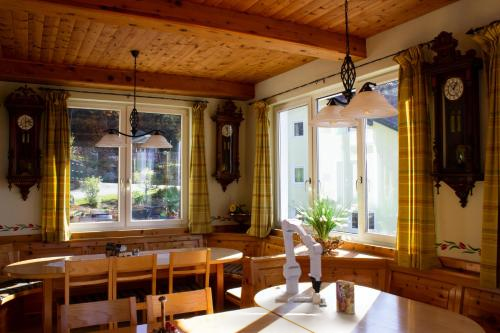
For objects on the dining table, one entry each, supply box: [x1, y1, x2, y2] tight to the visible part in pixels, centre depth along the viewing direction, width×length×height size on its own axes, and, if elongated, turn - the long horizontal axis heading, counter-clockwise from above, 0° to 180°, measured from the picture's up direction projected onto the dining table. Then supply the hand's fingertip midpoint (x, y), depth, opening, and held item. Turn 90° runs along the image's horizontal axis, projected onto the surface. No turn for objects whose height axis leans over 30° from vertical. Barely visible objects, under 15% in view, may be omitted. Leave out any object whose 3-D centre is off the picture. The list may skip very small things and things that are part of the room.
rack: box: [294, 296, 327, 308], centre depth 233 cm, size 12×18×3 cm, turn 84°
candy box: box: [335, 279, 356, 315], centre depth 218 cm, size 9×4×15 cm, turn 39°
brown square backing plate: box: [274, 298, 289, 304], centre depth 235 cm, size 8×7×1 cm
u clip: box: [310, 291, 321, 304], centre depth 233 cm, size 5×4×4 cm
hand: (316, 290), depth 233 cm, fingers open, 7 cm apart
